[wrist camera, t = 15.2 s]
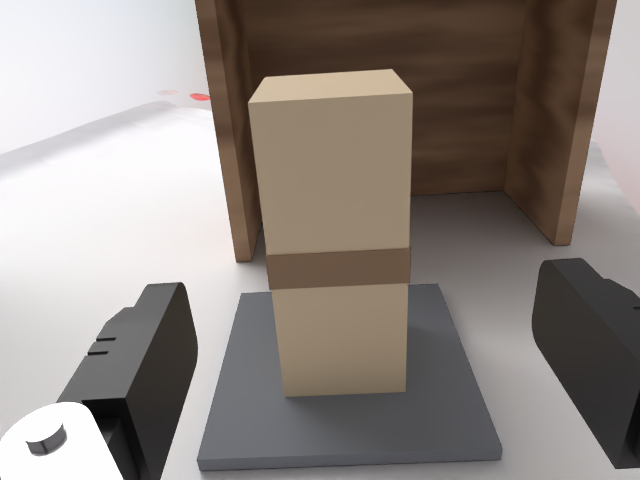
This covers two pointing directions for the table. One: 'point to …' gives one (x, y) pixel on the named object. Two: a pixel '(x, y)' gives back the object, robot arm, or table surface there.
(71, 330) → the table surface
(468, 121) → the cubby
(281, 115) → the block
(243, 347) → the mat
